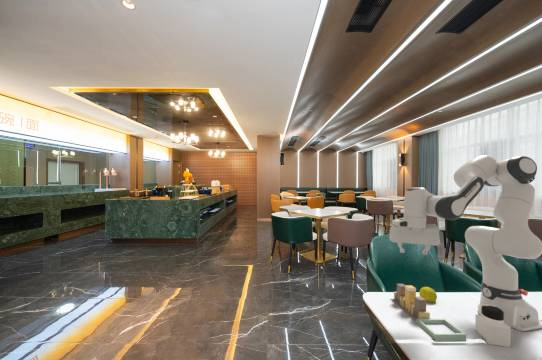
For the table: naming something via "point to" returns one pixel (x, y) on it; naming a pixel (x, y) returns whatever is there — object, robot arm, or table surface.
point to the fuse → (409, 295)
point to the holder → (411, 304)
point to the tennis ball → (428, 294)
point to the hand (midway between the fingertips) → (413, 253)
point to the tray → (443, 337)
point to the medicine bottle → (493, 326)
